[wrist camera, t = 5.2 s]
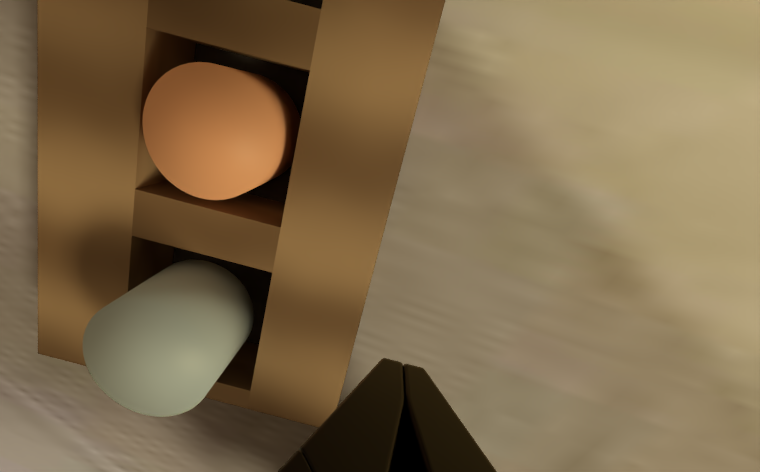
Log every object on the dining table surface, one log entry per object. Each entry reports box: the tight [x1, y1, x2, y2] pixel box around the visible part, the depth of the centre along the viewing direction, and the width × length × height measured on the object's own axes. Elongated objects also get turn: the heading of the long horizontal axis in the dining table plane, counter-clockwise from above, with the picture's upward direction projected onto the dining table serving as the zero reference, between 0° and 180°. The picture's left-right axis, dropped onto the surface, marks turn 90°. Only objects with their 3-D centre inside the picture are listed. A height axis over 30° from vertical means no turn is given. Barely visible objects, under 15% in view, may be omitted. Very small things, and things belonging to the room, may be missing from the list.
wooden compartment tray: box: [38, 0, 445, 427], centre depth 17 cm, size 24×14×4 cm, turn 166°
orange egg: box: [143, 62, 301, 200], centre depth 17 cm, size 5×5×4 cm
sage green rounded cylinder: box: [83, 260, 254, 417], centre depth 17 cm, size 5×5×4 cm
